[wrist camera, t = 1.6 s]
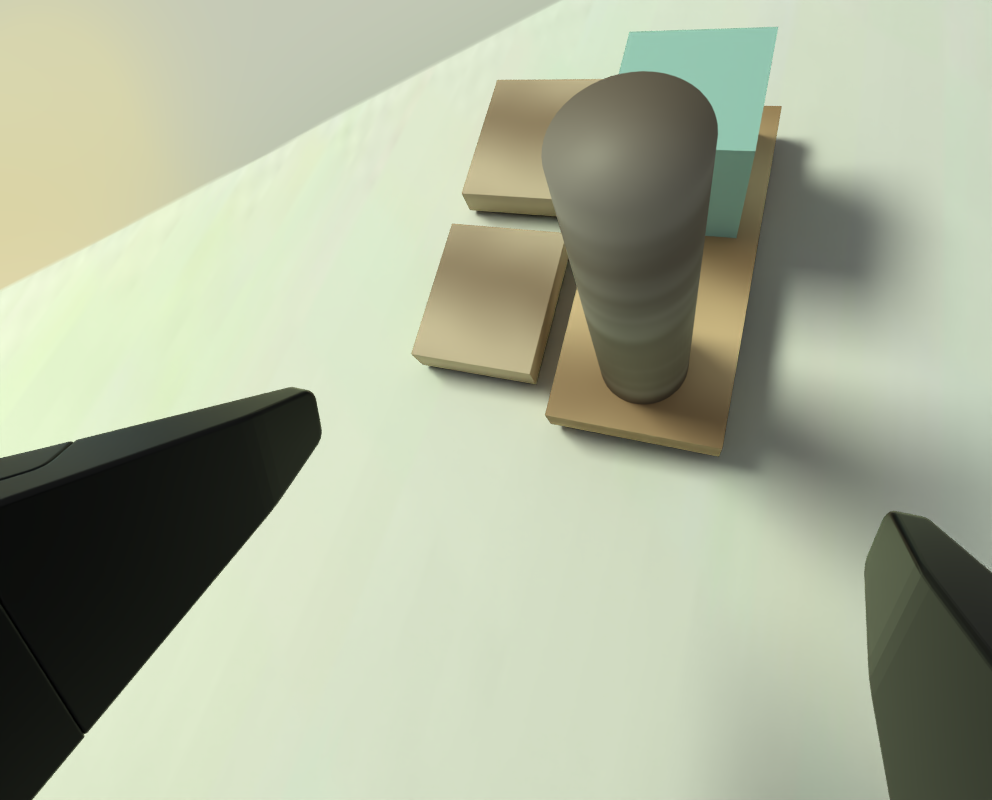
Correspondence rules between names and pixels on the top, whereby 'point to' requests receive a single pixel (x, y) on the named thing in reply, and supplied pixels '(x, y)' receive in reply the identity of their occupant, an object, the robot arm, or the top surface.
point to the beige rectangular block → (501, 246)
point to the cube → (717, 99)
